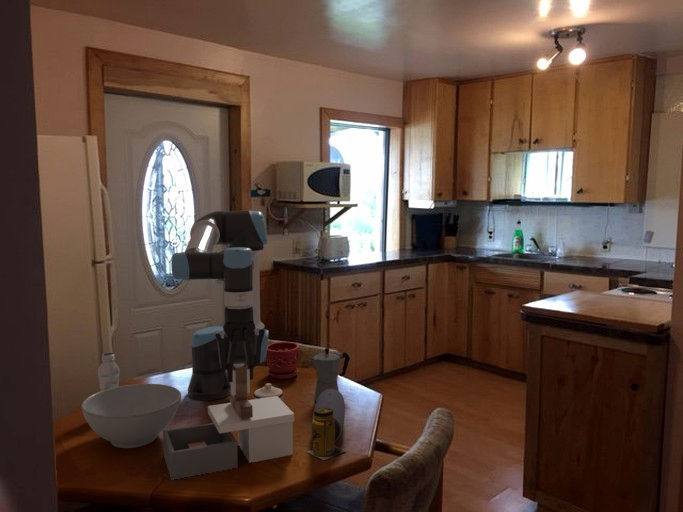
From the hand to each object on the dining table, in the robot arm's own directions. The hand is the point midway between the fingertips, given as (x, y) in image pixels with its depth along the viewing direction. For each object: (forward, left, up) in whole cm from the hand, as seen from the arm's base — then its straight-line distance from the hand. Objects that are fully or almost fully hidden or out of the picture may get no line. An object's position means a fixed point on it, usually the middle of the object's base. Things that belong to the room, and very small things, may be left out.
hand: (240, 392), depth 154 cm
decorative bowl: (-22, -26, -18) cm, 38 cm away
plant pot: (-61, +32, -18) cm, 71 cm away
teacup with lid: (-21, +15, -18) cm, 31 cm away
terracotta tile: (-3, -11, -14) cm, 18 cm away
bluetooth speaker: (-4, +27, -17) cm, 33 cm away
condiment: (+8, +22, -17) cm, 29 cm away
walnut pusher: (0, 0, -5) cm, 5 cm away
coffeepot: (-30, +39, -18) cm, 52 cm away
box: (0, -11, -17) cm, 21 cm away
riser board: (0, +2, -17) cm, 17 cm away
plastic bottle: (-44, -31, -18) cm, 57 cm away
